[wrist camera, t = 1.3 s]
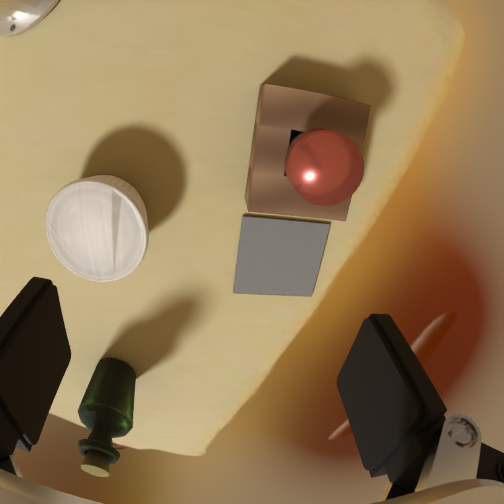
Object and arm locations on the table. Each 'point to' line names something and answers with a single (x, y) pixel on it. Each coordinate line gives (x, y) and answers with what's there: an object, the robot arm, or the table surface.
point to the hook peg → (324, 166)
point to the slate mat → (279, 256)
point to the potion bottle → (106, 414)
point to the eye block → (277, 142)
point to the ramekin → (98, 227)
